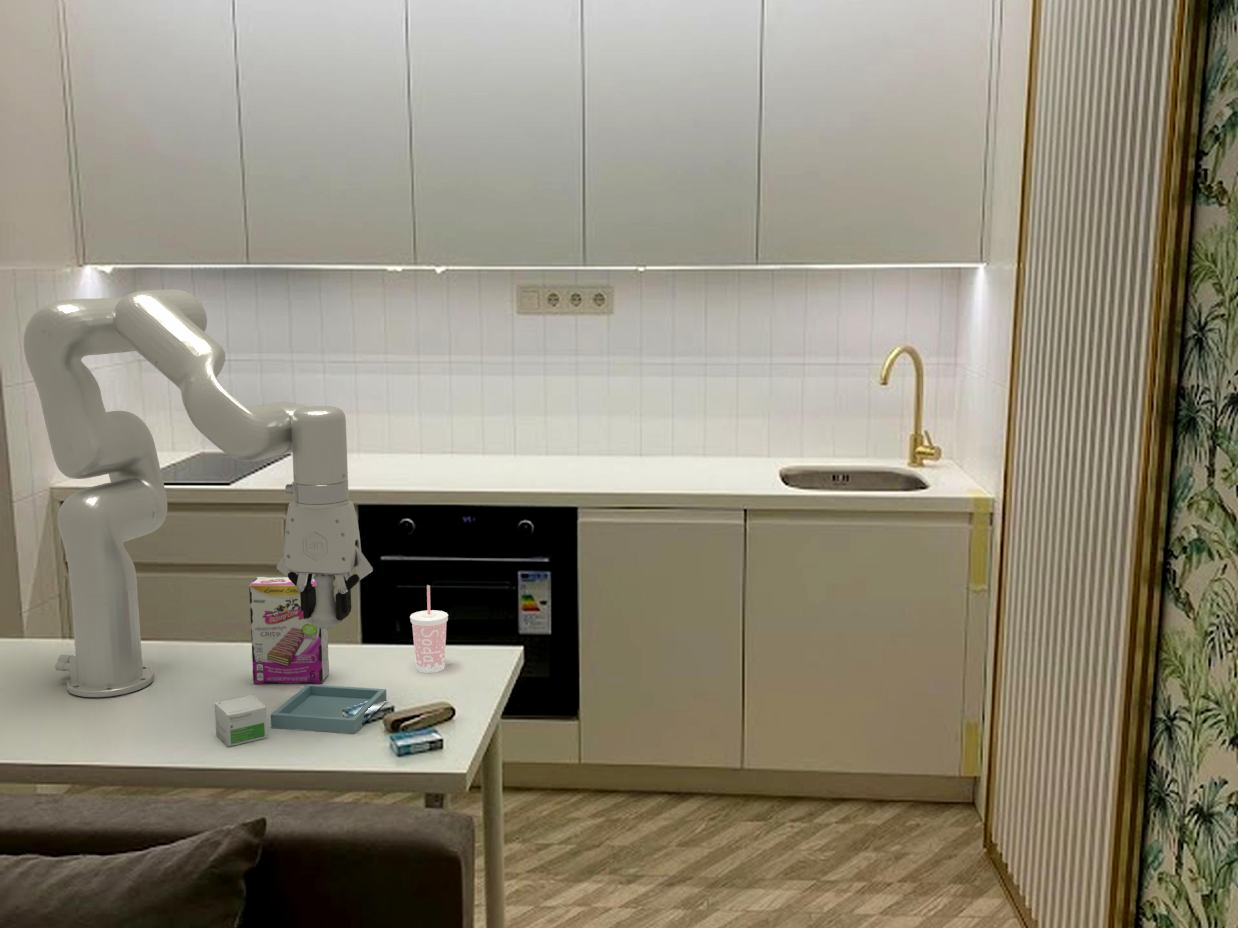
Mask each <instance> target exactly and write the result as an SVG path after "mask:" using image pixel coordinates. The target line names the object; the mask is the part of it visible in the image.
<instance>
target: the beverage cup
mask: <svg viewBox="0 0 1238 928" xmlns="http://www.w3.org/2000/svg"><path fill="white" fill-rule="evenodd" d="M426 597H427V598H426V602H427V607H426V608H427V609H426V610H420V611H416V612H413V613H411V614H410V616H409V619H410V623H411V624H412V625H411V627H412V637H413V639H412V640H413V646H414V647H413V648H414V658H415V659H414V661H415V670H416V671H417V672H418V673H423V674H434V673H438V672H441V671H443V670H445V665H446V643H447V642H446V641H447V622H448V620H449V614H448V612H445V611H443V610H436V609H435V610H434V609H432V610H431V585H429V584H427V585H426Z"/></svg>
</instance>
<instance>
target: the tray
mask: <svg viewBox="0 0 1238 928" xmlns="http://www.w3.org/2000/svg"><path fill="white" fill-rule="evenodd" d="M365 701H368V702H367V703H366V704H365V705H364V706H363V707H362V708H361V709H360V710H359V711H358V712H357V713H356V714H355V715H354V716H353V717H352V718H345V717H343V714H342V710H343V709H344V708H347V707H353V706H354V705H358V704H360V703H364V702H365ZM376 701H387V689H386V688H373V687H358V686H356V687H355V686H341V685H325V684H314V683H306V685H304V687H302V688H301V689H300V690H298V691H297V692H296V693H295V694H294V695H293V696H291V697H290V698H289V699H288V700H286V701H285V702H284V703H283V704H281V705H280V706H279V707H278V708H277V709H275V710H274V711H273V712H272V713H271V714H270V728H271V729H281V730H282V729H283V730H295V731H296V730H297V731H310V732H322V733H323V732H324V733H325V732H326V733H336V734H337V733H338V734H339V733H340V734H351V735H355V734H356V733H357V732H358V731H360V729H361V728H362V727H363V726H362V721H363V718H364V714H365V712H366V711H367V710H368V708H370V707H371V706H372V705H373V704H374V703H375V702H376Z"/></svg>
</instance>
